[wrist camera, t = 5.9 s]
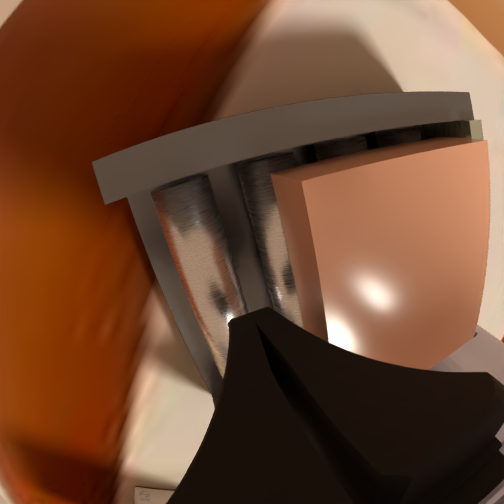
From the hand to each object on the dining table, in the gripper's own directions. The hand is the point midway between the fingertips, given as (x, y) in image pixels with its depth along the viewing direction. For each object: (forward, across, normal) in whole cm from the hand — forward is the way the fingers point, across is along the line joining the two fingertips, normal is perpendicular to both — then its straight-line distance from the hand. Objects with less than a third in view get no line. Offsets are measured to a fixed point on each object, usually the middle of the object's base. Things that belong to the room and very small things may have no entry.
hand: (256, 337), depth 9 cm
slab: (+1, -6, 0) cm, 6 cm away
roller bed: (+4, -4, 0) cm, 6 cm away
